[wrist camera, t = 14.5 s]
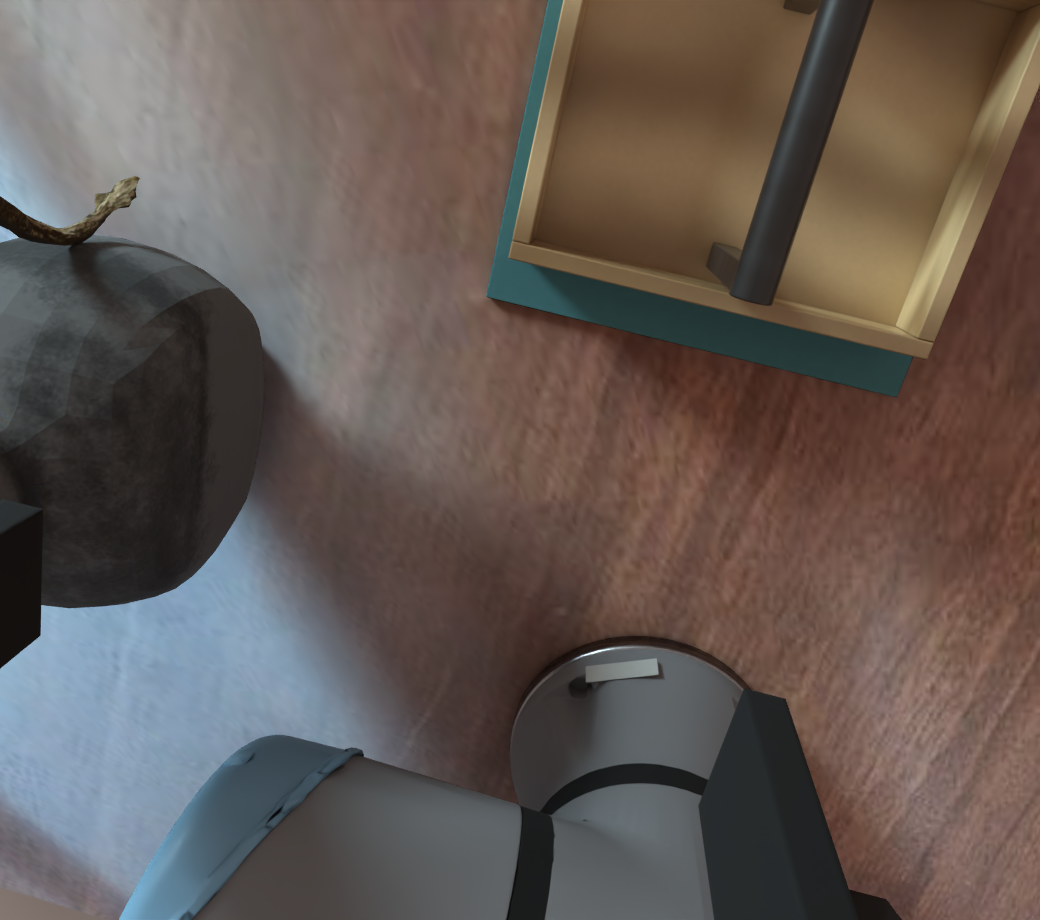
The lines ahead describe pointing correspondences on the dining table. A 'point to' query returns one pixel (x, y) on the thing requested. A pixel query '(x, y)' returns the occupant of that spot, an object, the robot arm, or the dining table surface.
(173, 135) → the dining table surface
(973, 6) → the tray
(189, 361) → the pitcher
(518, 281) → the mat
